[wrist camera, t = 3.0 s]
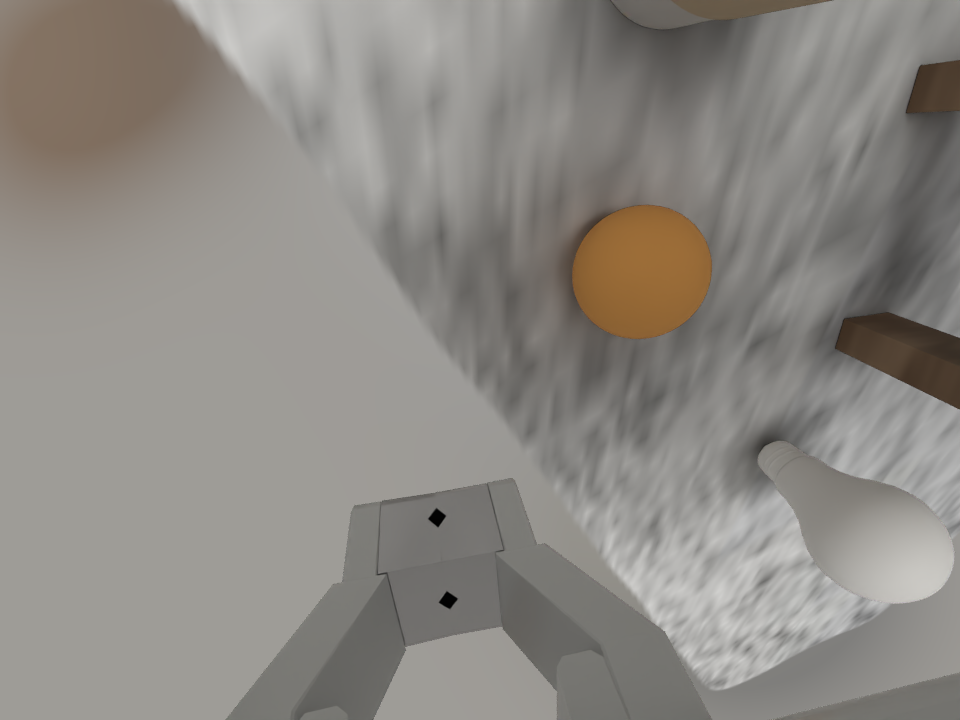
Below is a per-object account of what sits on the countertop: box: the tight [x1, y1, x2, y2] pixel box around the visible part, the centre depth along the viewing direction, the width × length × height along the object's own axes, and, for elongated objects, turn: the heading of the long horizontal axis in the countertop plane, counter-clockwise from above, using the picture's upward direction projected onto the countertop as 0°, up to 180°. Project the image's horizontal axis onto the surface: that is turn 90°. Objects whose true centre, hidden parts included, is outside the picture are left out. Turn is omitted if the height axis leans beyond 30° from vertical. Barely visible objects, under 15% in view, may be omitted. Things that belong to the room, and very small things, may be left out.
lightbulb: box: [758, 441, 954, 603], centre depth 27 cm, size 6×6×11 cm
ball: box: [572, 205, 712, 339], centre depth 21 cm, size 6×6×6 cm
